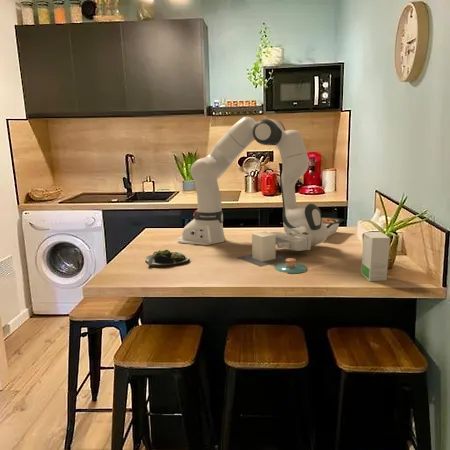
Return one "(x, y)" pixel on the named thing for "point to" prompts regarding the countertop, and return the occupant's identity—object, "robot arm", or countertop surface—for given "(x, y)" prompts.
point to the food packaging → (327, 221)
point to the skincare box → (375, 256)
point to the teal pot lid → (291, 267)
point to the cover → (263, 246)
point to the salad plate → (166, 259)
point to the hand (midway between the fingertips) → (270, 243)
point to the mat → (264, 263)
